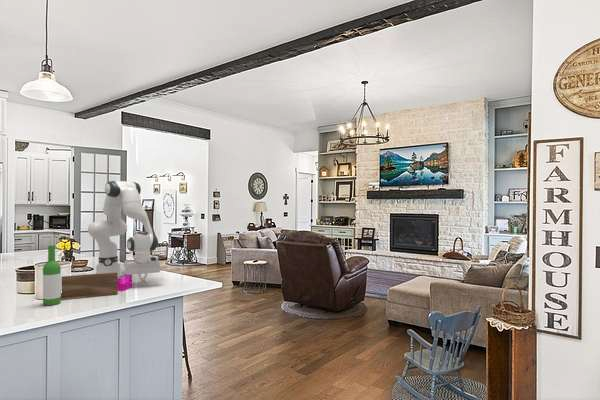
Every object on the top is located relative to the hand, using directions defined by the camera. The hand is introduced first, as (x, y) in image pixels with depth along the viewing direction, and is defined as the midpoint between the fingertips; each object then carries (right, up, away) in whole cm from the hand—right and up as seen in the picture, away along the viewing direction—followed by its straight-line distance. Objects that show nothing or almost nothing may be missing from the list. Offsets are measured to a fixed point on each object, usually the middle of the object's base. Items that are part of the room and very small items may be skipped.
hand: (142, 280), depth 231 cm
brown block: (-22, -4, -19) cm, 29 cm away
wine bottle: (-31, -4, -37) cm, 49 cm away
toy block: (-10, -4, -3) cm, 11 cm away
